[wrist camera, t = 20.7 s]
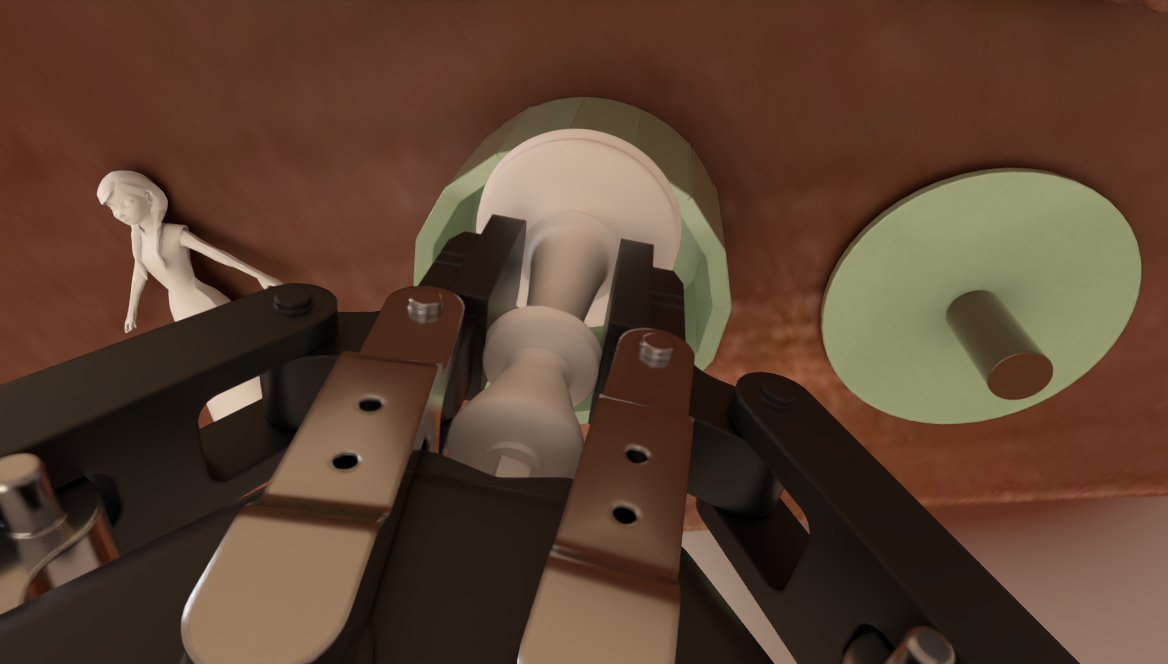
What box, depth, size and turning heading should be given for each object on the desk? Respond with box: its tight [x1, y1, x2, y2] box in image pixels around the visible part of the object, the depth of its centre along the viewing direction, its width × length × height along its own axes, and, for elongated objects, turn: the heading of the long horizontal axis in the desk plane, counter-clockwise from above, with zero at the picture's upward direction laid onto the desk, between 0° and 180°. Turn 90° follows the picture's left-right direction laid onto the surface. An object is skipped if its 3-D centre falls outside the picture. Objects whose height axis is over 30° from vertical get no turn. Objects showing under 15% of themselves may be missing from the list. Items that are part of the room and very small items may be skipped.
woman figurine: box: [97, 171, 283, 422], centre depth 39 cm, size 12×4×18 cm
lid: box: [820, 168, 1141, 424], centre depth 32 cm, size 15×15×7 cm
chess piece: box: [447, 129, 681, 479], centre depth 12 cm, size 5×5×10 cm
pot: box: [413, 97, 732, 424], centre depth 32 cm, size 14×14×8 cm
